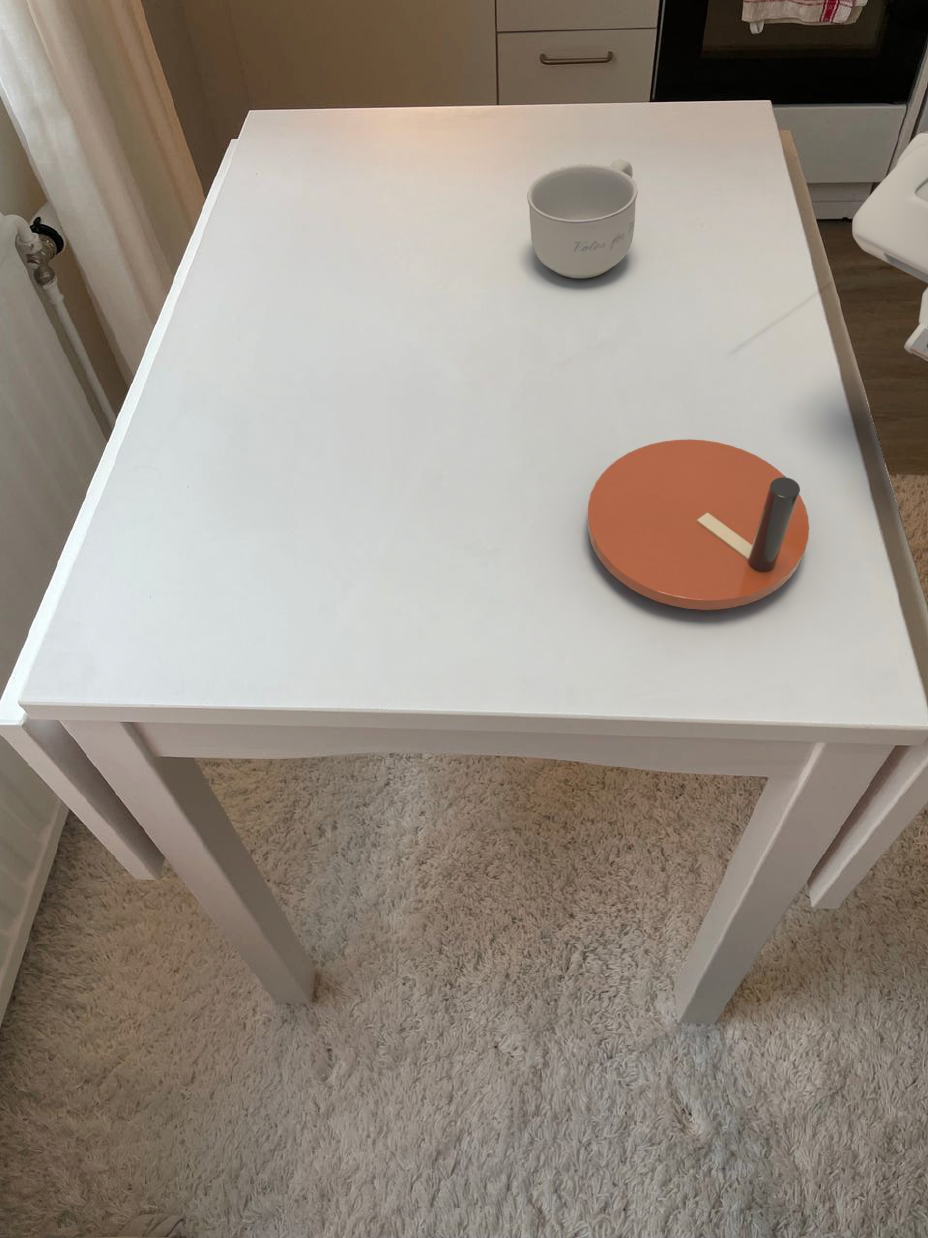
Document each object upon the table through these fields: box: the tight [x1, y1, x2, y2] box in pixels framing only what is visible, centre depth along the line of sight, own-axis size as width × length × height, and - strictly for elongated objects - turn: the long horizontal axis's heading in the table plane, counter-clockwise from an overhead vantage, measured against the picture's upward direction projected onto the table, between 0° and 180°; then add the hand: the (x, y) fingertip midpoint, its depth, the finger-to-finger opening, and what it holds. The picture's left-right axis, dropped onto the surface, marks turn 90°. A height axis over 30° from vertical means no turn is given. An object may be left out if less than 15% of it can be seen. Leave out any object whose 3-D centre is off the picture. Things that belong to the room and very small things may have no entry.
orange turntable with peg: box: [586, 438, 810, 611], centre depth 72 cm, size 17×17×9 cm
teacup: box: [526, 159, 639, 279], centre depth 98 cm, size 14×11×8 cm
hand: (922, 359), depth 67 cm, fingers closed
